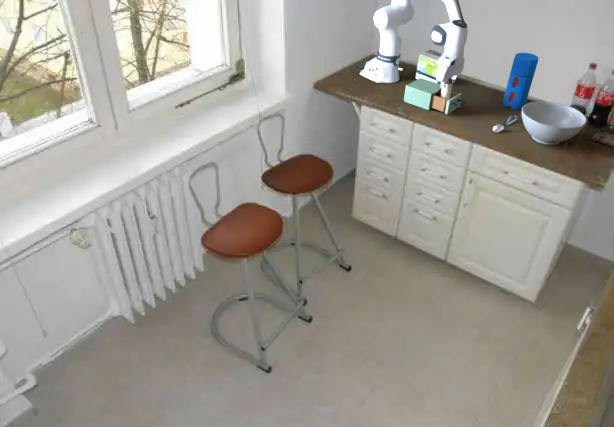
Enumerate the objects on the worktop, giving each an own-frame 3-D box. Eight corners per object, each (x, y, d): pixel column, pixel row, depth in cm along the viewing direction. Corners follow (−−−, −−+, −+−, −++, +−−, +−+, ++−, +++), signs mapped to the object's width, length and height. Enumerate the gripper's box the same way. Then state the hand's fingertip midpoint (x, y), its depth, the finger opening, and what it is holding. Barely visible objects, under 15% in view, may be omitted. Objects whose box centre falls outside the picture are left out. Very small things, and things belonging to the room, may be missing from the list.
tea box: (414, 79, 288) (418, 52, 279) (426, 74, 293) (430, 48, 285) (436, 87, 279) (441, 60, 270) (447, 83, 284) (453, 56, 276)
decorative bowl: (530, 119, 251) (537, 96, 244) (586, 139, 236) (596, 114, 229) (504, 137, 235) (511, 113, 228) (563, 159, 221) (572, 134, 213)
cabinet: (442, 102, 265) (445, 85, 260) (428, 110, 256) (431, 93, 251) (417, 93, 272) (420, 77, 267) (403, 101, 264) (405, 85, 259)
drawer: (467, 109, 256) (470, 96, 252) (455, 117, 249) (457, 104, 245) (435, 98, 266) (437, 85, 262) (422, 105, 258) (424, 93, 254)
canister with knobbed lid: (437, 104, 257) (442, 76, 248) (441, 102, 260) (447, 74, 251) (445, 107, 255) (450, 79, 246) (450, 104, 257) (455, 76, 249)
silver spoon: (512, 109, 250) (521, 113, 247) (510, 116, 252) (519, 119, 250) (491, 125, 239) (501, 128, 236) (489, 132, 241) (499, 135, 239)
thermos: (498, 104, 264) (511, 56, 249) (508, 98, 270) (521, 50, 255) (518, 111, 258) (533, 62, 243) (528, 105, 264) (542, 56, 249)
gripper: (457, 50, 251) (452, 77, 259) (436, 60, 238) (431, 89, 246) (469, 53, 248) (464, 81, 256) (448, 64, 235) (443, 93, 243)
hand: (447, 85), depth 251 cm, fingers open, 8 cm apart
